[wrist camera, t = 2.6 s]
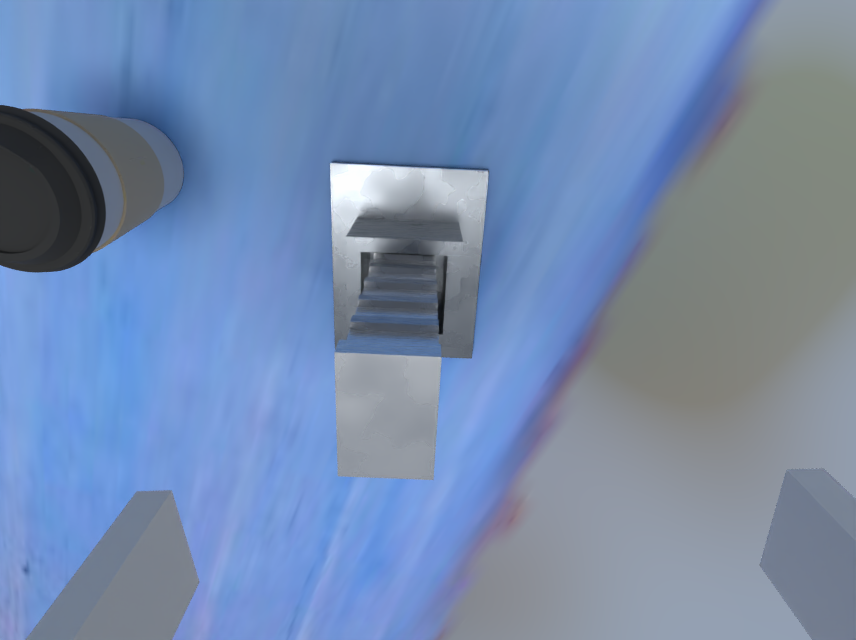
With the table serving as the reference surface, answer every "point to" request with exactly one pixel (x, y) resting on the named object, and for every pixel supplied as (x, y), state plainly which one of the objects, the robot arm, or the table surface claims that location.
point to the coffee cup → (77, 184)
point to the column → (390, 373)
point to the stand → (410, 237)
